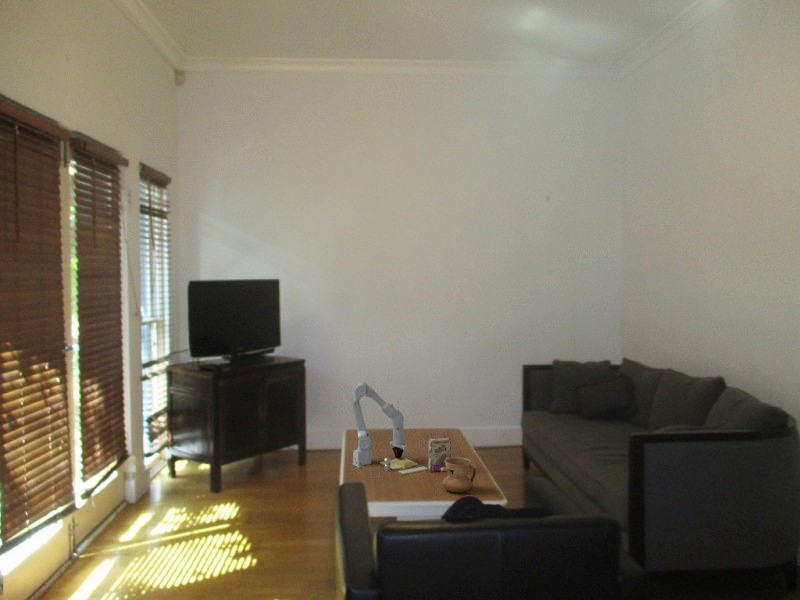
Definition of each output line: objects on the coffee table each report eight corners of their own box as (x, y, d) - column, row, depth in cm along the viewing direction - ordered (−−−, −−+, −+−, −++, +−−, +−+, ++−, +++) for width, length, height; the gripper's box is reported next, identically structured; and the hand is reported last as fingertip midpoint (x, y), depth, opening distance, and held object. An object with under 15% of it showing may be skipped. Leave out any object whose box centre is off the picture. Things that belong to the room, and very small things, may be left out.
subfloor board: (402, 475, 345) (402, 473, 344) (378, 464, 365) (378, 462, 365) (428, 470, 353) (428, 468, 353) (404, 459, 373) (404, 457, 373)
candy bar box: (430, 472, 349) (430, 441, 349) (428, 469, 354) (428, 438, 353) (451, 471, 352) (451, 439, 351) (448, 468, 357) (448, 437, 356)
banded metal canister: (386, 472, 349) (386, 459, 349) (383, 471, 352) (383, 458, 352) (391, 471, 351) (391, 458, 351) (388, 470, 354) (388, 457, 353)
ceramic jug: (444, 496, 313) (445, 466, 312) (435, 486, 327) (436, 457, 326) (481, 494, 317) (482, 464, 317) (471, 483, 331) (471, 455, 331)
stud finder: (404, 468, 353) (404, 462, 353) (395, 464, 361) (395, 458, 361) (412, 466, 356) (412, 461, 356) (403, 462, 363) (403, 456, 363)
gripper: (411, 437, 358) (412, 462, 359) (397, 431, 371) (397, 456, 371) (400, 439, 355) (400, 464, 355) (386, 433, 367) (386, 458, 368)
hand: (398, 460), depth 363 cm, fingers closed
